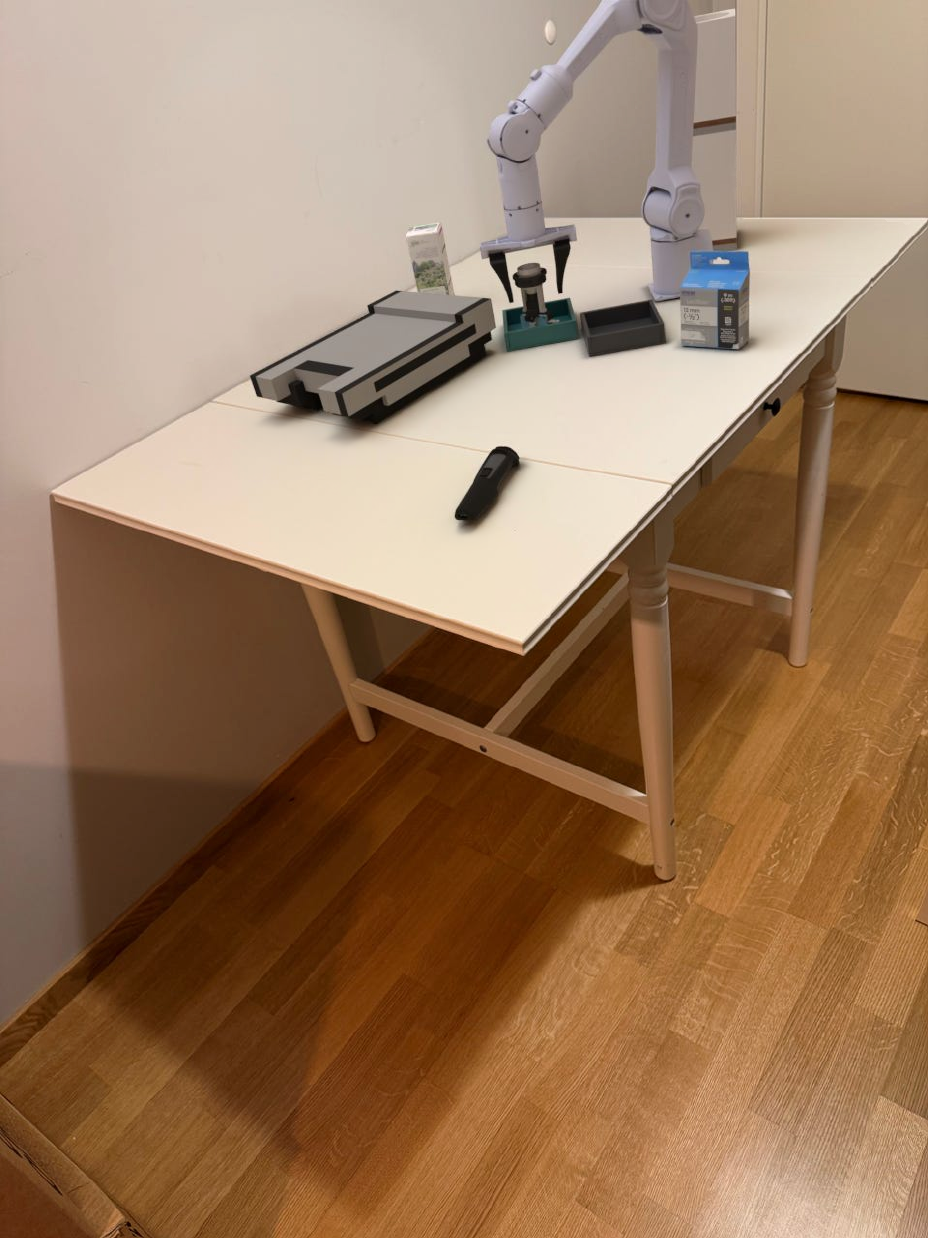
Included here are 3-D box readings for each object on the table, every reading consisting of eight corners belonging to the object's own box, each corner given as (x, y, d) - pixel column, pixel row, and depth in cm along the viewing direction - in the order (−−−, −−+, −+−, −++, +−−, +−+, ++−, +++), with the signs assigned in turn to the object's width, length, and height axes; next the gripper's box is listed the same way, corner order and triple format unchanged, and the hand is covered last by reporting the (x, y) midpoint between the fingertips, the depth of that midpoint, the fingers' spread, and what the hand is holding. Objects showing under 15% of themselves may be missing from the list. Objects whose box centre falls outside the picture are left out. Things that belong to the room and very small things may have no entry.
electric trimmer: (448, 531, 101) (442, 507, 99) (494, 462, 112) (490, 439, 110) (479, 533, 100) (474, 508, 98) (523, 462, 111) (519, 439, 109)
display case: (736, 231, 168) (735, 8, 147) (736, 249, 160) (735, 15, 139) (673, 239, 171) (663, 22, 150) (670, 257, 163) (659, 30, 142)
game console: (264, 418, 138) (247, 367, 133) (407, 338, 155) (396, 290, 150) (355, 440, 125) (339, 385, 120) (500, 350, 142) (491, 298, 137)
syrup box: (457, 303, 165) (441, 220, 156) (453, 314, 160) (437, 229, 152) (426, 308, 166) (409, 225, 157) (422, 319, 161) (404, 235, 153)
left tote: (572, 314, 149) (570, 297, 147) (578, 338, 140) (576, 320, 138) (504, 327, 150) (502, 309, 148) (507, 351, 141) (504, 333, 140)
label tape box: (680, 346, 130) (676, 259, 123) (692, 335, 132) (689, 249, 125) (738, 351, 125) (738, 260, 118) (750, 339, 127) (751, 250, 120)
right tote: (653, 317, 141) (652, 299, 139) (665, 342, 132) (664, 323, 130) (581, 330, 142) (579, 312, 141) (589, 356, 133) (587, 337, 132)
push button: (567, 324, 145) (559, 260, 139) (551, 337, 141) (542, 272, 136) (531, 322, 148) (522, 260, 142) (515, 335, 145) (505, 272, 139)
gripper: (474, 220, 131) (490, 313, 139) (573, 200, 130) (584, 295, 138) (474, 209, 137) (489, 298, 145) (569, 189, 135) (579, 281, 143)
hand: (535, 296), depth 142 cm, fingers open, 7 cm apart
